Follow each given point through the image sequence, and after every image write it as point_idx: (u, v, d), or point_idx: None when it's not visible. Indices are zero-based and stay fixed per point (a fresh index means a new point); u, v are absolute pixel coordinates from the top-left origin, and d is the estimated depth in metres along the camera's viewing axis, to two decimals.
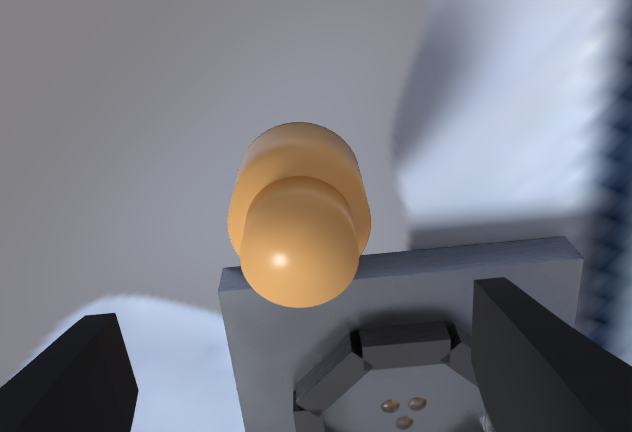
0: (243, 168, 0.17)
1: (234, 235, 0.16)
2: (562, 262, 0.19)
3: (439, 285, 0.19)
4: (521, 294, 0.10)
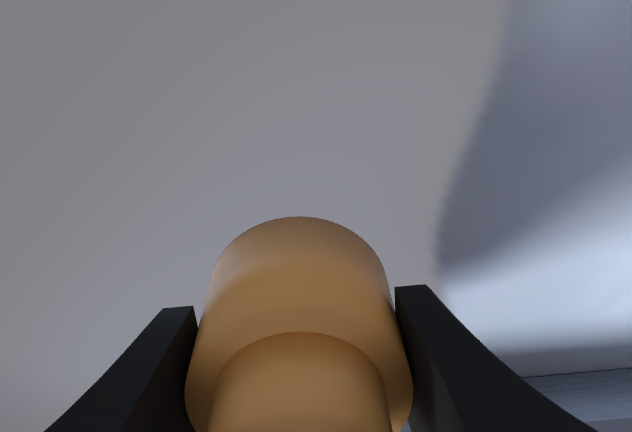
0: (212, 300, 0.11)
1: (196, 415, 0.10)
2: None
3: None
4: (434, 302, 0.10)
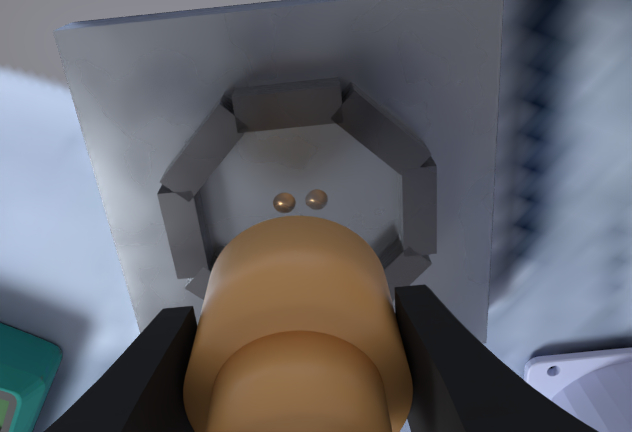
0: (210, 300, 0.11)
1: (195, 414, 0.10)
2: None
3: (327, 23, 0.15)
4: (434, 302, 0.10)
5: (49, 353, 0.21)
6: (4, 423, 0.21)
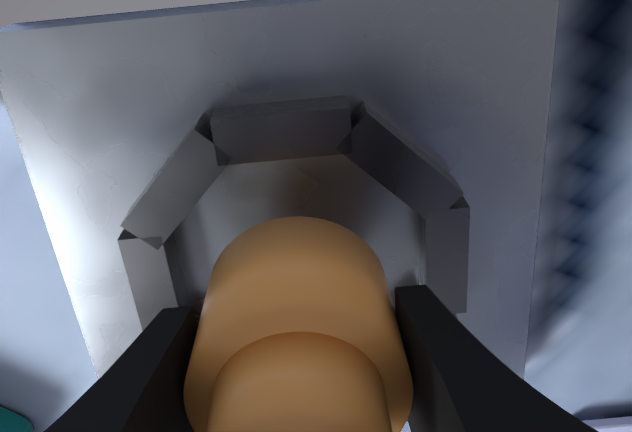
0: (210, 301, 0.11)
1: (195, 415, 0.10)
2: None
3: (334, 26, 0.12)
4: (434, 302, 0.10)
5: (18, 431, 0.18)
6: None
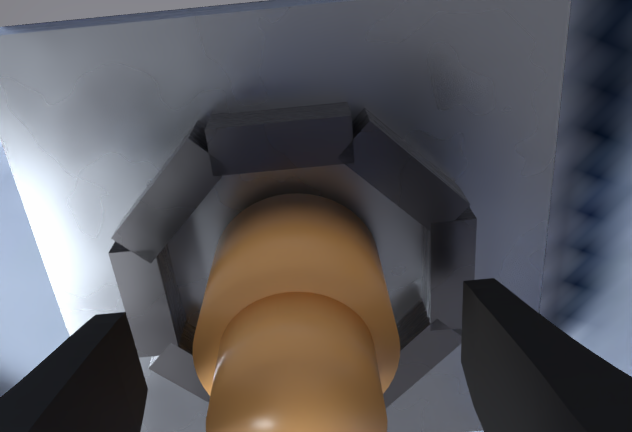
0: (217, 268, 0.12)
1: (203, 370, 0.11)
2: None
3: (334, 30, 0.12)
4: (510, 295, 0.10)
5: None
6: None
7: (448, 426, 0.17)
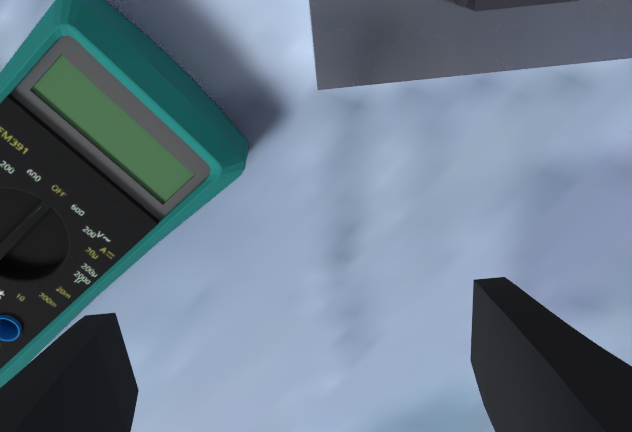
0: None
1: None
2: None
3: None
4: (522, 294, 0.10)
5: (245, 145, 0.20)
6: (172, 198, 0.19)
7: None
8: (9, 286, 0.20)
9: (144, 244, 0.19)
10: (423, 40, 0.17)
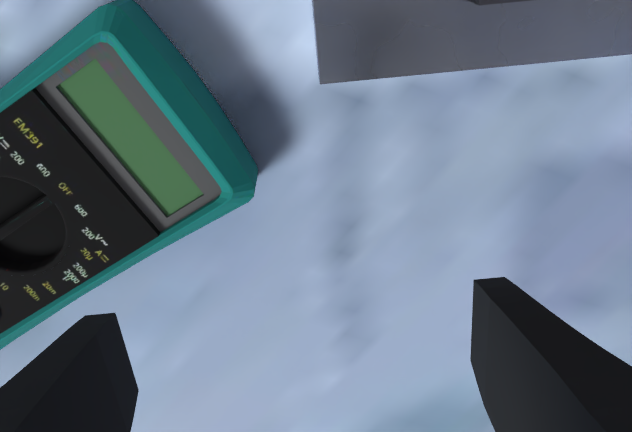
0: None
1: None
2: None
3: None
4: (521, 294, 0.10)
5: (255, 171, 0.20)
6: (177, 213, 0.19)
7: None
8: None
9: (141, 253, 0.20)
10: (426, 34, 0.17)
